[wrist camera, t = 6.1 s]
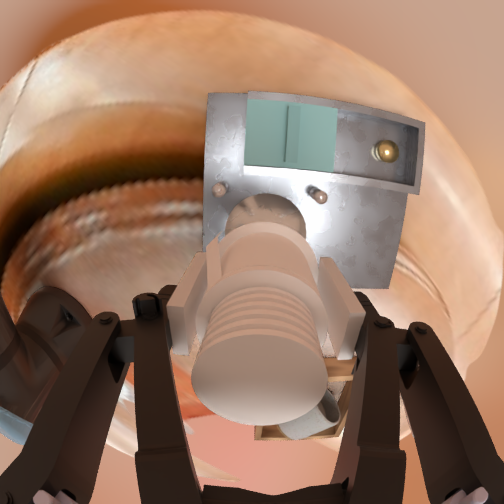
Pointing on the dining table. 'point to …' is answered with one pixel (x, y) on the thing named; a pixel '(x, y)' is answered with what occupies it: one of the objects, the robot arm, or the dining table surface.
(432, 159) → the dining table surface
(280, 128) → the cover
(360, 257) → the housing board
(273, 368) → the downlight
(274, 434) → the wooden caddy
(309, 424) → the ceramic mug
